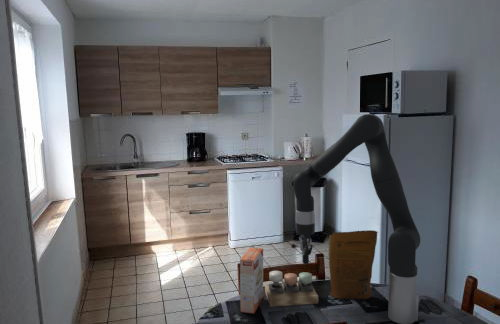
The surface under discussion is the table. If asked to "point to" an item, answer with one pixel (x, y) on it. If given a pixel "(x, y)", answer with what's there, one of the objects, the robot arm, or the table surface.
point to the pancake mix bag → (351, 263)
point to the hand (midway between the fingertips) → (305, 263)
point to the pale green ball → (305, 278)
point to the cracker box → (251, 280)
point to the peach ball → (290, 279)
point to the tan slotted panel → (290, 294)
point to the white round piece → (276, 277)
